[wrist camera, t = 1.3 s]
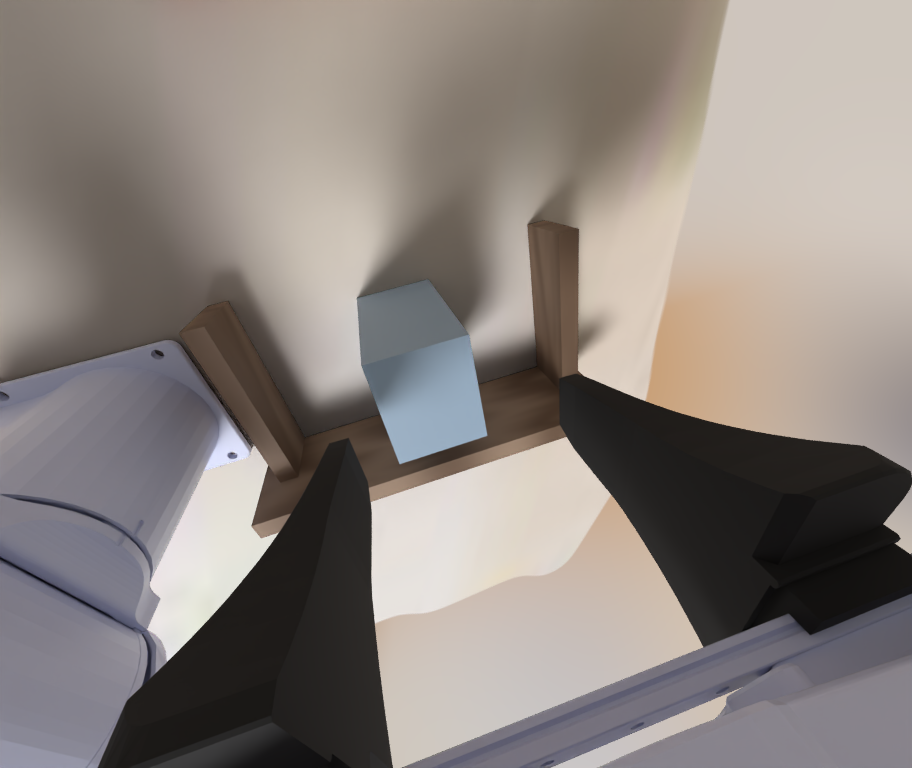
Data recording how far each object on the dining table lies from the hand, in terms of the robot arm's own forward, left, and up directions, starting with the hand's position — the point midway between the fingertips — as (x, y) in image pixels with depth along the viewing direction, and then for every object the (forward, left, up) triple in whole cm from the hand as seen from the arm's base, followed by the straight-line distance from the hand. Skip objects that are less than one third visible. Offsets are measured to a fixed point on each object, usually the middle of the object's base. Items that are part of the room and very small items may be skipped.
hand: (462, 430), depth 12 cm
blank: (-1, 0, -11) cm, 11 cm away
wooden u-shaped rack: (-1, -1, -11) cm, 11 cm away
